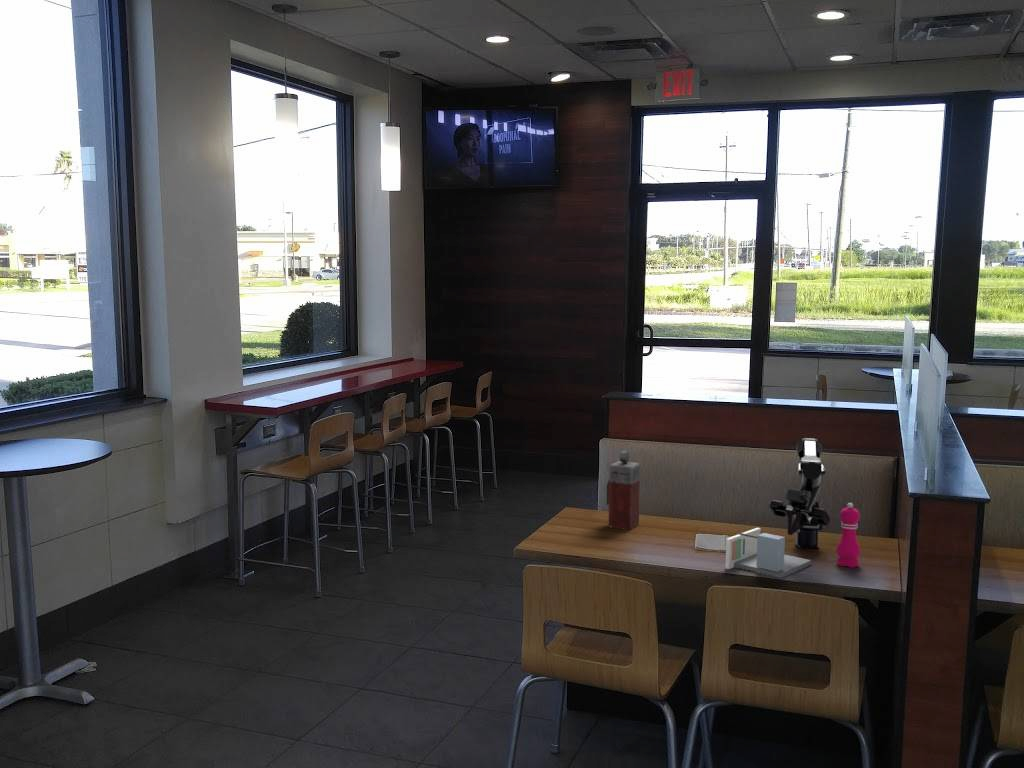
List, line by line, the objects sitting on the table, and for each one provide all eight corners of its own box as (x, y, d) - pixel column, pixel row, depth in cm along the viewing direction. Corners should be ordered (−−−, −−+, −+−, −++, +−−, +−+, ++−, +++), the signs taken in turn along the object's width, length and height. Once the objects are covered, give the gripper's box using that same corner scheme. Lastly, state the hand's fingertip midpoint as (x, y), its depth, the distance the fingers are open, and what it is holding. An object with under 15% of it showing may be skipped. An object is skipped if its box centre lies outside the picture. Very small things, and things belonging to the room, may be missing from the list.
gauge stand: (761, 553, 297) (762, 525, 296) (810, 564, 285) (812, 535, 284) (725, 568, 281) (726, 538, 280) (775, 580, 269) (776, 549, 268)
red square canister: (610, 521, 340) (611, 447, 337) (639, 524, 335) (640, 450, 332) (602, 526, 332) (603, 451, 329) (631, 529, 327) (632, 454, 324)
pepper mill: (832, 561, 289) (834, 500, 287) (855, 561, 289) (857, 500, 287) (840, 567, 282) (842, 505, 280) (863, 568, 281) (865, 505, 279)
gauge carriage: (742, 558, 285) (743, 527, 284) (785, 568, 275) (786, 536, 274) (735, 561, 282) (735, 530, 281) (777, 571, 271) (778, 539, 270)
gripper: (772, 475, 291) (753, 514, 285) (827, 484, 278) (808, 525, 272) (783, 495, 298) (765, 534, 291) (837, 504, 285) (820, 545, 278)
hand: (789, 534), depth 283 cm, fingers closed
